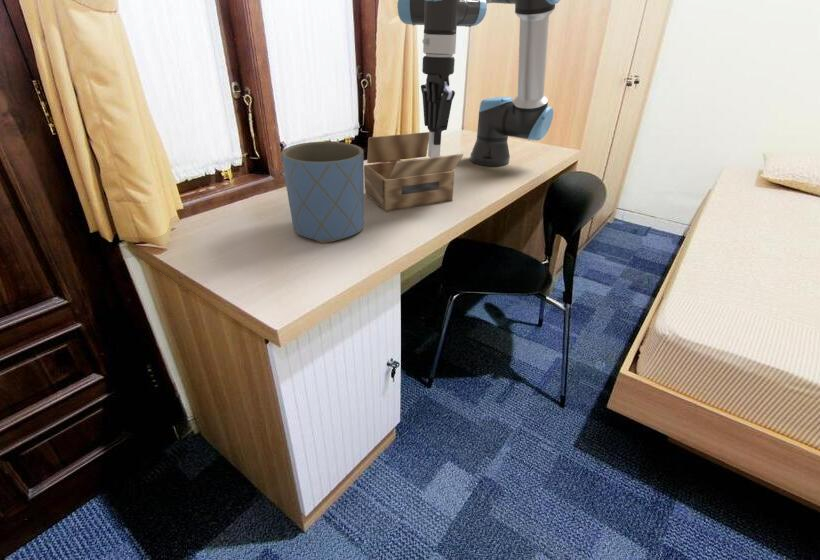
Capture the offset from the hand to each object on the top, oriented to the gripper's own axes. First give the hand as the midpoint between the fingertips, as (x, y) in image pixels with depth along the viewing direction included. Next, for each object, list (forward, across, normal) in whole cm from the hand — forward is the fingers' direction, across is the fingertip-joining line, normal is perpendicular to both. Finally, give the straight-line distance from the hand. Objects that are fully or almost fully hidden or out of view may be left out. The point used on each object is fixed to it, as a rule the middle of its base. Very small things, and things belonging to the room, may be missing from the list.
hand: (433, 156), depth 114 cm
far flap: (+3, -22, 0) cm, 22 cm away
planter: (+17, -2, -29) cm, 33 cm away
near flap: (+4, -4, 0) cm, 6 cm away
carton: (+16, -15, 0) cm, 22 cm away
